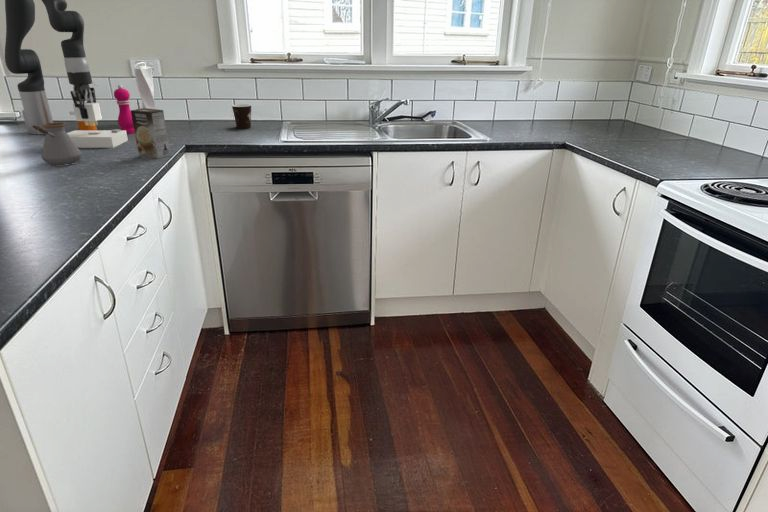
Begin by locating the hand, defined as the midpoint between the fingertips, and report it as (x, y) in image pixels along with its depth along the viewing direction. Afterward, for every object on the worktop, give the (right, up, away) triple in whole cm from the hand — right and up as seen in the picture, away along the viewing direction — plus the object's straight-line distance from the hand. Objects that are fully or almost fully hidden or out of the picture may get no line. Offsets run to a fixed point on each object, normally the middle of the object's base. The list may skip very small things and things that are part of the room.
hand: (88, 117), depth 190 cm
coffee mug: (+47, +6, +41) cm, 62 cm away
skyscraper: (+4, +8, +44) cm, 45 cm away
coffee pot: (+7, -24, -28) cm, 38 cm away
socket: (0, -9, +4) cm, 10 cm away
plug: (-1, -3, +1) cm, 3 cm away
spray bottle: (-14, +1, +27) cm, 31 cm away
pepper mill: (+2, 0, +26) cm, 27 cm away
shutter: (0, -7, +3) cm, 7 cm away
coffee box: (+31, -18, -13) cm, 38 cm away
